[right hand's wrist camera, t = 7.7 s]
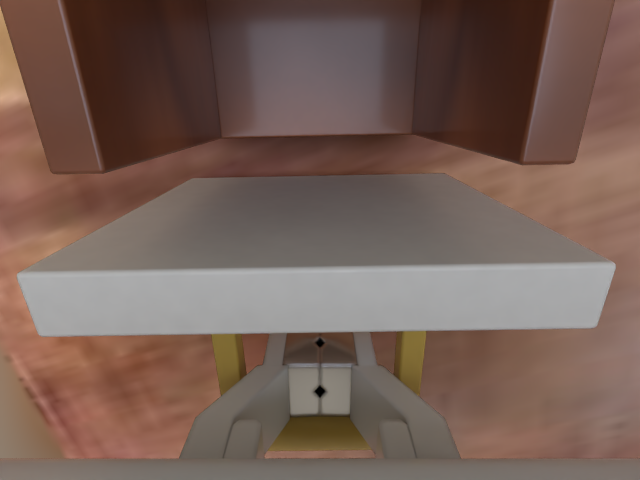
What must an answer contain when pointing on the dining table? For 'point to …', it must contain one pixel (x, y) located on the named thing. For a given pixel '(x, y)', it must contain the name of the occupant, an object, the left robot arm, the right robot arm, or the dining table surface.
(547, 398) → the dining table surface
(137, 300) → the drawer
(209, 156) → the dining table surface
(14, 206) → the dining table surface
